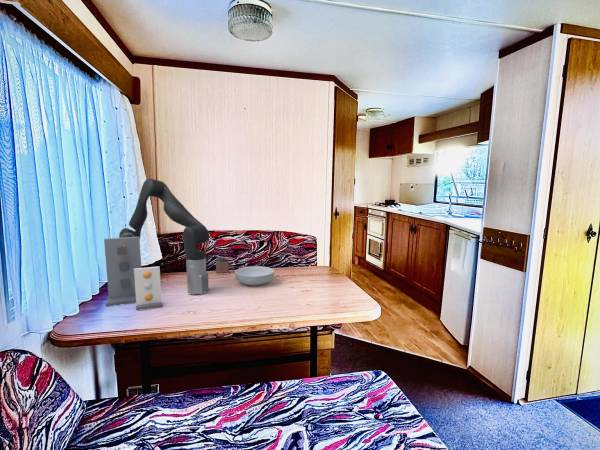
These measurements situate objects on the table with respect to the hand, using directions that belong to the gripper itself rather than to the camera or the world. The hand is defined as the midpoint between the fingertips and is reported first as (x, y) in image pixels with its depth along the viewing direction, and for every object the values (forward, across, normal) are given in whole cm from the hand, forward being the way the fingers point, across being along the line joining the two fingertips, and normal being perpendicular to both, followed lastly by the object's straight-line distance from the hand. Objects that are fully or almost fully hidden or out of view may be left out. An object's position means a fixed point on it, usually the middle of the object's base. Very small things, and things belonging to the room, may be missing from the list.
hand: (123, 247), depth 152 cm
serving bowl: (+3, +62, +24) cm, 66 cm away
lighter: (-22, +49, +24) cm, 59 cm away
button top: (+4, 0, +2) cm, 5 cm away
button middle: (+1, 0, +10) cm, 10 cm away
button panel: (+3, 0, +24) cm, 24 cm away
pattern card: (+17, +10, +24) cm, 31 cm away
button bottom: (+1, 0, +18) cm, 18 cm away
